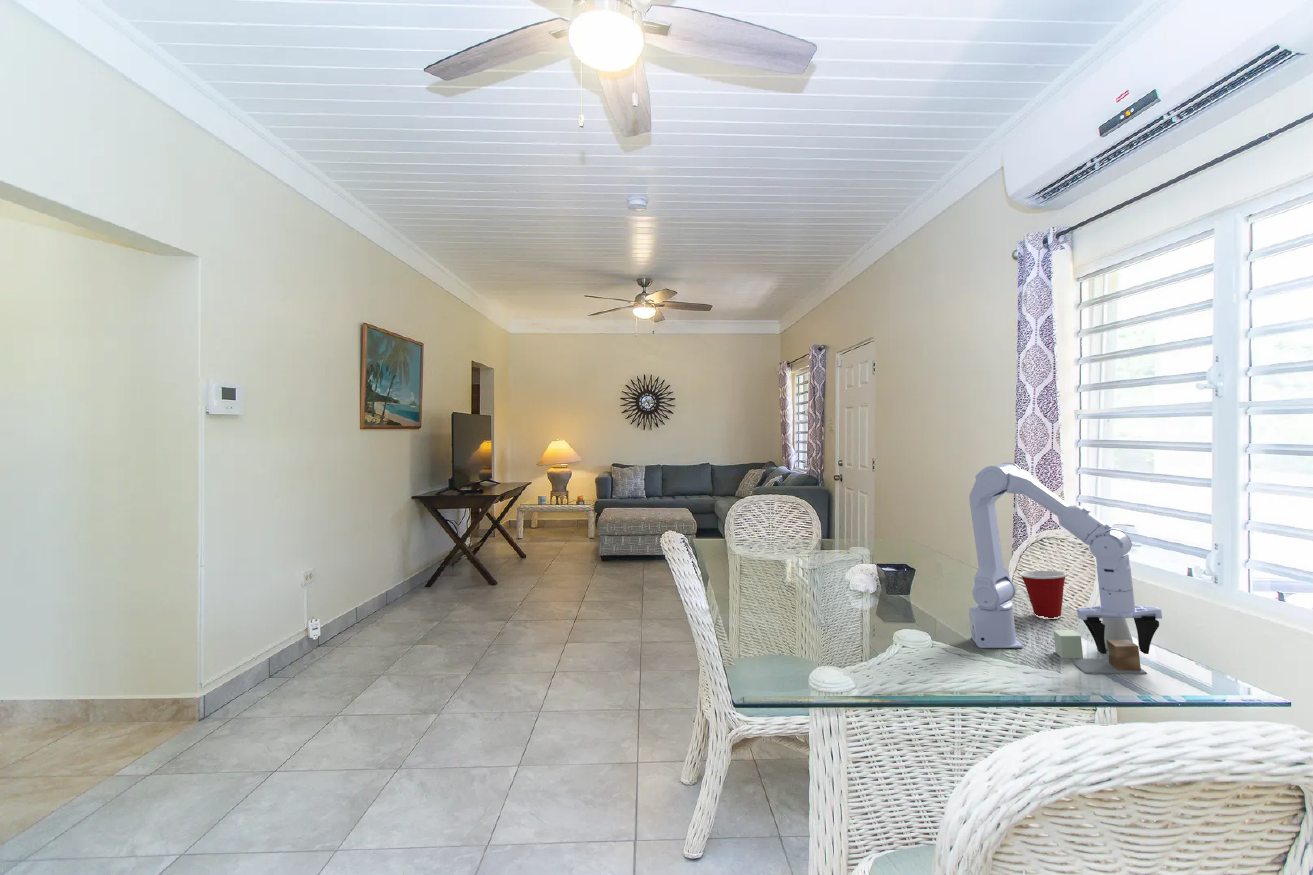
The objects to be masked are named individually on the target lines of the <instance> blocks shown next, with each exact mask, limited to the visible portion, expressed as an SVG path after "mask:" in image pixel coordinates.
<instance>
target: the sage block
mask: <svg viewBox="0 0 1313 875" xmlns="http://www.w3.org/2000/svg"><path fill="white" fill-rule="evenodd" d="M1053 639H1054V649H1055V653H1056V654H1058V655H1059V656H1060V657H1061V658H1062V659H1084V655H1083V654H1084V653H1083V644H1082V635H1080V634H1079V633H1078V632H1076V630H1074V629H1058V630H1057V629H1054V630H1053Z"/></svg>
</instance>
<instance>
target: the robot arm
mask: <svg viewBox="0 0 1313 875" xmlns="http://www.w3.org/2000/svg"><path fill="white" fill-rule="evenodd" d="M974 477H975V480H974V483H973V486H972V488H971V491H970V493H969V496H968V497H969V506H970V514H971V521H972V529H973V534H974V535H973V536H974V542H975V550H976V558H977V563H978V568H977V571H976V573H975V575H974V578H973V580H974V586H973V588H972V591H971V592H972V597H973V598H972V599H973V600H974V601H975V603H976V604H977V606H970V607H969V608H968V617H969V624H970V634H971V636H970V638H971V639H972V641H973V642H974V643H975V644H976V646H977V647H978V648H979V649H1012V648H1013V649H1018V648H1019V649H1020V648H1021V649H1022V648H1024V646H1023V644H1022V643H1020V642H1019V640H1018V639H1017V635H1016V626H1015V625H1016V624H1015V616H1014V607H1013V603H1012V599H1013V598H1014V597H1015V596H1016V592H1017V590H1016V586H1015V584H1014V582H1013V581H1012V579H1011V576H1010V571H1009V570H1008V569H1007V568H1006V567H1005V566H1004V561H1003V560H1004V559H1003V553H1002V546H1001V539H1000V533H999V531H1000V530H999V526H998V525H999V523H998V517H997V509H996V505H995V504H996V501H998V500H999V498H1002V496H1003V495H1004V494H1006V493H1007V494H1016V495H1024V496H1026V497H1028V498H1029V499H1031V500H1032V501H1033V502H1035V503H1037V504H1038V505H1040V506H1041V507H1043V508H1044V509H1045V510H1047V511H1049V512H1050V513H1052V514H1054V515H1055V516H1057V520H1058V523H1059V524H1058V525H1059V526H1060V527H1061V528H1063V529H1064V530H1066V531H1067V532H1069V533H1070V534H1072V535H1073V536H1074V537H1075V538H1077V539H1078V540H1080V541H1081V542H1083V544H1085V545H1087V546H1089V548H1088V549H1089V551H1090V552H1091V555H1092V556H1094V557H1095V559H1096V560H1095V562H1096V573H1097V574H1096V575H1097V580H1098V592H1099V601H1100V605H1096V606H1090V607H1089V606H1088V607H1080V608H1078V607H1077V608H1076V614H1077V618H1078V619H1080V620H1081V621H1082V622H1083V623H1084V624H1085V626H1086V628H1087V629H1088V631H1089V633H1090V635H1091V636H1092V638H1093V640H1094V643H1095V645H1096V650H1097V651H1098V653H1100V654H1101V655H1106V654H1107V649H1106V647H1105V640H1104V631H1105V625H1104V624H1102V620H1101V619H1104V618H1126V619H1133V622H1134V624H1135V628H1136V632H1137V642H1138V648H1139V652H1141V653H1142V654H1144V655H1149V653H1150V648H1151V644H1152V640H1153V637H1154V634H1155V633H1156V631H1157V630H1158V628H1159V627H1160V622H1159V620H1157V619H1163V615H1162V613H1163V612H1162V609H1161V608H1160V607H1158V606H1143V605H1141V606H1140V605H1136V604H1135V596H1134V585H1133V578H1132V576H1133V575H1132V568H1131V564H1130V557H1129V556H1130V555H1129V554H1128V553H1129V552H1130V551H1131V549H1132V546H1133V543H1132V540H1131V538H1130V536H1129V535H1128V534H1126V532H1125V531H1124V530H1122V529H1119V528H1116V527H1115V528H1113V526H1112V524H1109V523H1104V521H1102V520H1100V519H1099V518H1097V517H1096V516H1095V515H1093V514H1092V513H1091V512H1092V510H1091V509H1090V508H1088V507H1087V506H1085V507H1082V506H1080V505H1069V504H1068V503H1066V502H1065V500H1063V499H1061V498H1060V497H1059V496H1058V495H1056V494H1055V493H1054V492H1053V491H1051V490H1050V489H1049V488H1048V487H1046V485H1044V484H1042V483H1041V482H1040V481H1038V479H1036V478H1035V477H1034V476H1032V474H1030V473H1029V471H1027V470H1025V469H1023V468H1022V469H1021V467H1020V466H1018V464H1016V463H1014V462H1007V461H1006V462H1003V463H1000V464H997V465H989V466H985V467H984V468H983V469H981V470H980V471H979V472H978V473H977V474H975V476H974Z"/></svg>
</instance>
